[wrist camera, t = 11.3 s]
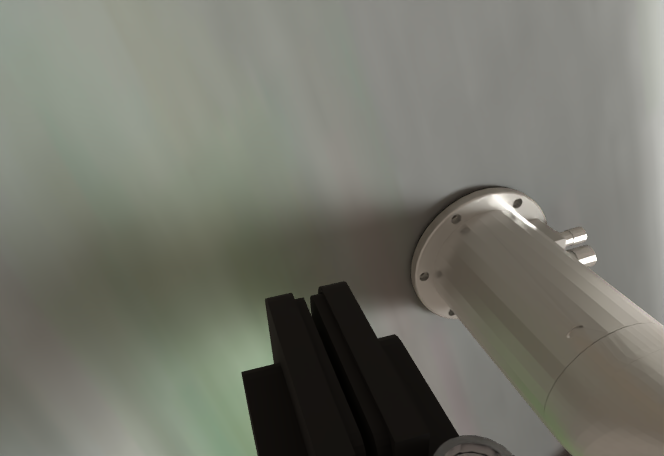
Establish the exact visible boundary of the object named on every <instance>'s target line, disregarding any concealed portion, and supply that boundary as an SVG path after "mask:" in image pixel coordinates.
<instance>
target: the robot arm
mask: <svg viewBox="0 0 664 456" xmlns="http://www.w3.org/2000/svg"><path fill="white" fill-rule="evenodd" d="M586 239H587V234H586V232H585V230H584V229H583V228H582V227H576V228H572V229H569V230H566V231H564V232H561V233H559V232H557V231H555V230H553V229H552V228H551V227H549V226H548V225H547V221H546V217H545V215H544V213H543V211H542V209H541V208H540V207H539V205H538V204H537V203H536V202H535V201H534V200H532V199H531V198H529V197H528V196H527V195H525V194H524V193H522V192H519V191H517V190H514V189H510V188H503V187H498V188H487V189H483V190H479V191H475V192H473V193H471V194H469V195H466V196H464V197H462V198H460V199H459V200H457V201H456V202H454V203H452V204H451V205H449V206H448V207H447V208H446V209H445V210H443V211H442V212H441V213H440V214H439V215H438V216H437V217H436V218H435V219H434V220H433V221H432V223H431V224H430V225H429V226H428V227H427V229H426V230H425V232H424V234H423V235H422V237H421V238H420V240H419V242H418V245H417V247H416V249H415V251H414V255H413V259H412V264H411V279H412V285H413V288H414V290H415V292H416V294H417V296H418V298H419V299H420V300H421V301H422V303H423V304H424V306H426V307H427V308H428V309H429V310H430V311H431V312H433V313H435V314H437V315H439V316H441V317H445V318H449V319H459V320H460V321H461V322H462V323H463V324H464V326H465V327H466V328H467V329H468V331H469V332H470V333H471V334H472V336H473V337H474V338H475V339H476V341H477V342H478V343H479V344H480V345H481V347H482V348H483V349H484V350H485V352H486V353H487V354H488V355H489V357H490V358H491V359H492V360H493V361H494V363H495V364H496V365H497V366H498V368H499V369H500V370H501V371H502V373H503V374H504V375H505V376H506V378H507V379H508V380H509V381H510V382H511V384H512V385H513V386H514V387H515V389H516V390H517V391H518V392H519V394H520V395H521V396H522V397H523V398H524V400H525V401H526V402H527V403H528V405H529V406H530V407H531V408H532V410H533V411H534V412H535V413H536V415H537V416H538V417H539V418H540V419H541V421H542V422H543V423H544V424H545V426H546V427H547V428H548V429H549V431H550V432H551V433H552V434H553V435H554V437H555V438H556V439H557V440H558V442H559V443H560V444H561V445H562V446H563V447H564V448H565V449H566V450H567V451H568V452H569V453H570V454H571V455H572V456H664V326H663V325H662V324H660V323H659V322H658V321H656V320H655V319H654V318H652V317H651V316H650V315H649V314H647V313H646V312H645V311H643V310H642V309H641V308H640V307H638V306H637V305H636V304H634V303H633V302H632V301H631V300H629V299H628V298H627V297H625V296H624V295H623V294H621V293H620V292H619V291H618V290H616V289H615V288H614V287H612V286H611V285H610V284H609V283H607V282H606V281H605V280H603V279H602V278H601V277H600V276H598V275H597V274H596V273H594V272H593V271H592V270H590V269H589V268H588V267H591V266H593V265H595V263H596V254H595V252H594V250H593V249H592V248H591V247H590V246H588V245H583V246H580V247H576V248H573V249H570V250H565V247H566V246H572V245H576V244H579V243H583V242H585V241H586ZM265 303H266V311H267V318H268V325H269V332H270V339H271V346H272V353H273V360H274V364H272V365H268V366H264V367H260V368H256V369H252V370H248V371H244V372H242V378H243V384H244V389H245V394H246V400H247V405H248V410H249V415H250V420H251V425H252V430H253V435H254V440H255V445H256V450H257V455H258V456H514V455H513V454H512V453H511V452H510V451H508V450H507V449H506V448H505V447H504V446H503V445H501V444H499V443H497V442H495V441H493V440H491V439H488V438H484V437H480V436H476V435H462V436H459V435H458V433H457V432H456V430H455V428H454V427H453V425H452V423H451V422H450V420H449V419H448V417H447V415H446V414H445V412H444V410H443V409H442V407H441V405H440V404H439V402H438V401H437V399H436V397H435V396H434V394H433V392H432V391H431V389H430V387H429V386H428V384H427V382H426V381H425V379H424V378H423V376H422V374H421V373H420V371H419V369H418V368H417V366H416V364H415V363H414V361H413V360H412V358H411V356H410V355H409V353H408V351H407V350H406V348H405V346H404V345H403V343H402V342H401V340H400V339H399V338H398V336H396V335H395V334H394V335H390V336H386V337H382V338H377V337H376V335H375V333H374V331H373V329H372V328H371V326H370V324H369V322H368V320H367V319H366V317H365V315H364V313H363V311H362V310H361V308H360V306H359V304H358V302H357V301H356V299H355V297H354V295H353V293H352V292H351V290H350V288H349V286H348V285H347V283H346V282H339V283H334V284H330V285H325V286H321V287H319V289H318V294H317V295H312V296H311V297H310V303H311V314H312V316H311V314H310V312H309V309H308V307H307V304H306V302H305V300H304V298H299V299H294V296H293V294H292V293H289V294H284V295H279V296H275V297H270V298H266V299H265Z"/></svg>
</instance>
